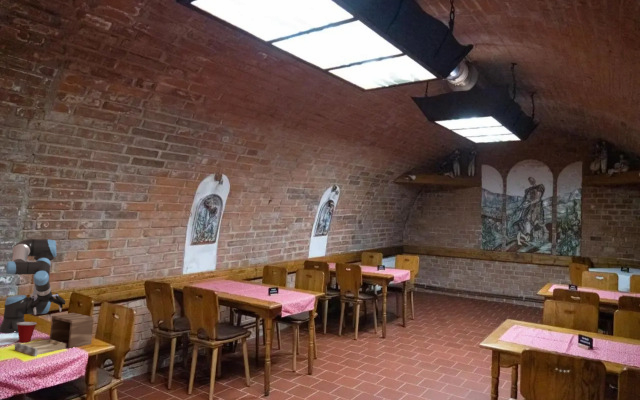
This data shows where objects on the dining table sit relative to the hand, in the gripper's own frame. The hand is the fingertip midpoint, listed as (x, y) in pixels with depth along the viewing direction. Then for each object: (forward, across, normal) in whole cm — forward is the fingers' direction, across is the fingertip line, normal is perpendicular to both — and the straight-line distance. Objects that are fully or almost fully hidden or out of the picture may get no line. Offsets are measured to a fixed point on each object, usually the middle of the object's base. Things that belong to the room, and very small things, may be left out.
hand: (48, 312), depth 286 cm
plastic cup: (+14, -13, -11) cm, 22 cm away
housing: (+10, +12, -19) cm, 25 cm away
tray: (0, -2, -26) cm, 26 cm away
